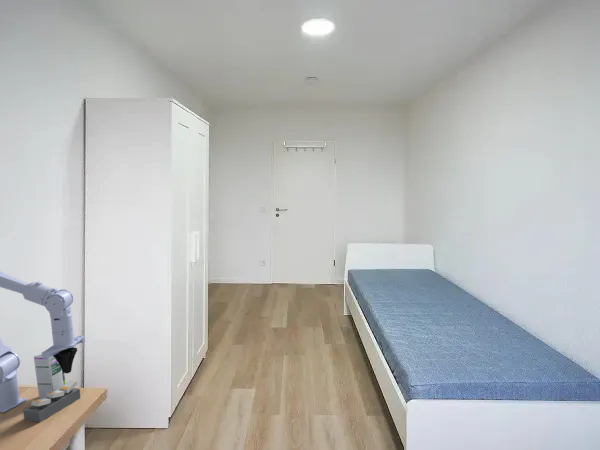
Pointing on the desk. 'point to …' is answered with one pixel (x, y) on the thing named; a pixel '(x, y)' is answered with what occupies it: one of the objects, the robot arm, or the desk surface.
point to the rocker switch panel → (51, 406)
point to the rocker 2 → (55, 394)
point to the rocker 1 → (40, 402)
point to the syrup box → (48, 375)
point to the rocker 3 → (68, 386)
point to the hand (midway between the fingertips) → (67, 372)
